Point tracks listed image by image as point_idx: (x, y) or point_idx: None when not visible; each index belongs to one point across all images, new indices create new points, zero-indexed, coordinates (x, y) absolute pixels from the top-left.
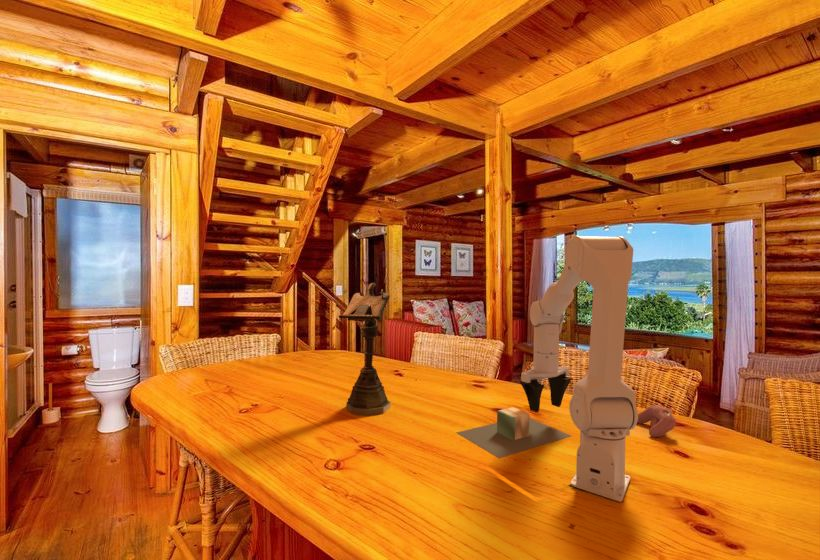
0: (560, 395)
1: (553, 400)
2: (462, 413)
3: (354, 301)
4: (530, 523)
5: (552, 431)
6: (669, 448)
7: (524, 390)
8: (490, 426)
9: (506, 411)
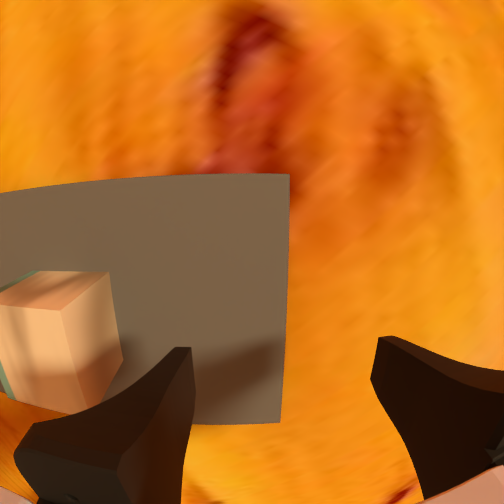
0: (400, 429)
1: (389, 362)
2: (72, 13)
3: None
4: (2, 475)
5: (247, 376)
6: (411, 483)
7: (96, 407)
8: (39, 208)
9: (4, 336)
